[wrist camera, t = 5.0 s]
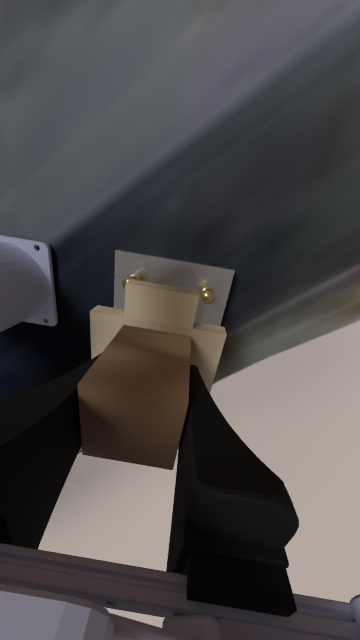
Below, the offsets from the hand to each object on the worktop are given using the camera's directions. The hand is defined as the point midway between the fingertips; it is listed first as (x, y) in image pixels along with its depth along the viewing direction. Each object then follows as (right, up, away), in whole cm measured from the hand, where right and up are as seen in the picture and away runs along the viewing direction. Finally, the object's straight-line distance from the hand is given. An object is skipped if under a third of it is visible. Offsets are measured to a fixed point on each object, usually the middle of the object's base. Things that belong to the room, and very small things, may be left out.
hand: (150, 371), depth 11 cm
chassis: (+1, +3, +8) cm, 9 cm away
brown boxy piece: (0, +1, +2) cm, 2 cm away
